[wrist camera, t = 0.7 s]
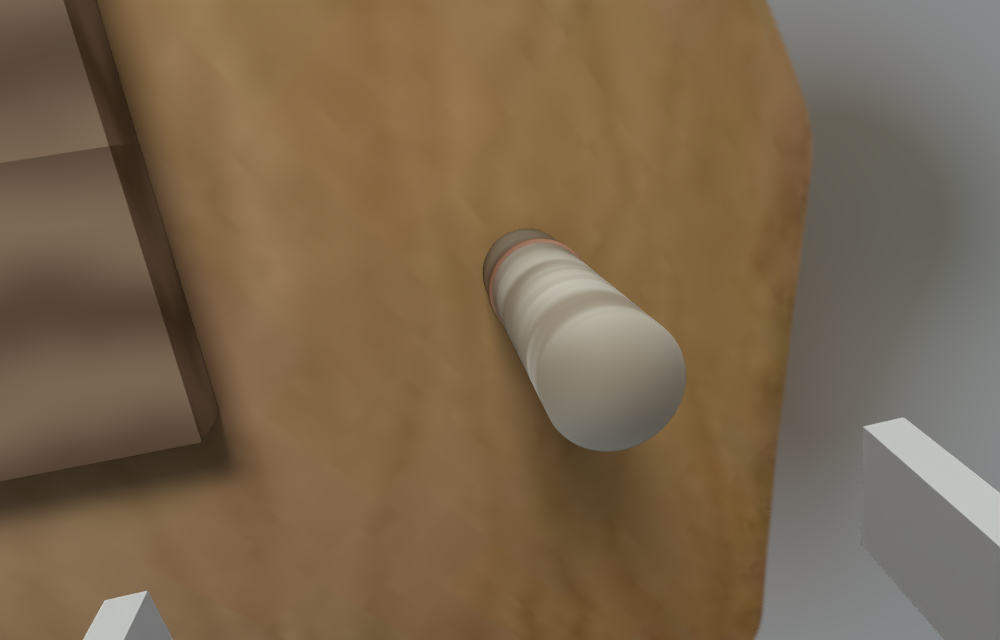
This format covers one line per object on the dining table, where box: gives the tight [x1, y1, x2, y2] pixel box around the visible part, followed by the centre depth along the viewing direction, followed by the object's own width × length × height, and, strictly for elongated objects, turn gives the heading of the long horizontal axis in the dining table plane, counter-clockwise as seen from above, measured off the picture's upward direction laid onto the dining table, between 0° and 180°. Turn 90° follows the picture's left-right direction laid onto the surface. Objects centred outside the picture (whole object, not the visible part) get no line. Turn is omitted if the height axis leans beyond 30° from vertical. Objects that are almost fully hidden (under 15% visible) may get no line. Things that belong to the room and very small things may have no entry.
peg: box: [483, 229, 686, 451], centre depth 25 cm, size 4×4×14 cm
